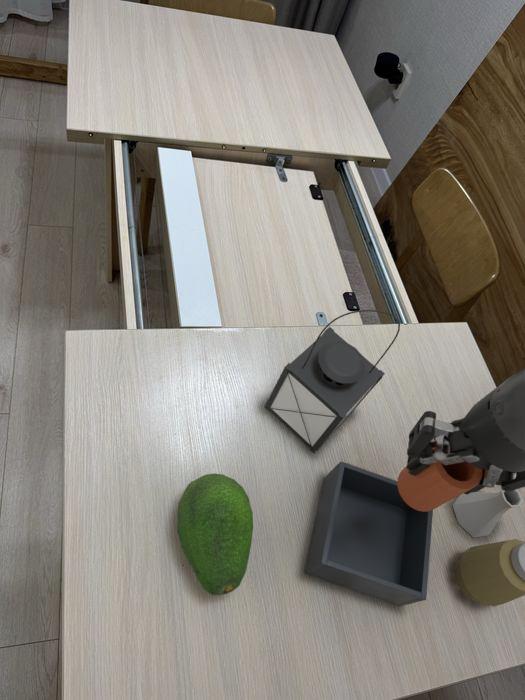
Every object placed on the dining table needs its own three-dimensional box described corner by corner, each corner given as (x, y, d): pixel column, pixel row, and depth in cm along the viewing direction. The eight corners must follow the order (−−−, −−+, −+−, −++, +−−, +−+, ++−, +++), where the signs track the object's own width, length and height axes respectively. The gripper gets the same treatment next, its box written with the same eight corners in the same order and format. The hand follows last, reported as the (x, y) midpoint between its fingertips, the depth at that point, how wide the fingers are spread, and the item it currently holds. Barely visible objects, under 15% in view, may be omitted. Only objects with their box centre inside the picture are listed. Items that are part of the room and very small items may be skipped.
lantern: (263, 406, 83) (315, 305, 60) (304, 368, 89) (366, 262, 66) (314, 454, 81) (388, 367, 58) (353, 411, 87) (435, 316, 64)
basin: (409, 508, 79) (434, 494, 73) (399, 606, 71) (426, 600, 65) (323, 478, 79) (341, 460, 73) (303, 573, 71) (321, 563, 64)
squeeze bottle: (437, 562, 76) (511, 534, 61) (476, 542, 79) (557, 512, 64) (466, 618, 72) (553, 604, 58) (507, 595, 76) (599, 576, 61)
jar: (442, 474, 65) (483, 448, 57) (439, 518, 61) (482, 496, 54) (399, 459, 64) (435, 431, 57) (394, 502, 61) (431, 478, 54)
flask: (444, 502, 81) (479, 483, 73) (475, 485, 84) (513, 464, 76) (471, 545, 78) (512, 530, 70) (503, 526, 82) (545, 509, 73)
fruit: (250, 596, 68) (267, 585, 60) (175, 602, 65) (182, 592, 57) (241, 484, 76) (255, 461, 67) (174, 486, 73) (180, 463, 65)
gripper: (600, 408, 48) (494, 468, 62) (459, 355, 47) (384, 427, 61) (611, 481, 43) (493, 528, 57) (456, 424, 43) (375, 485, 57)
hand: (437, 476), depth 59 cm, fingers closed on jar, 6 cm apart
